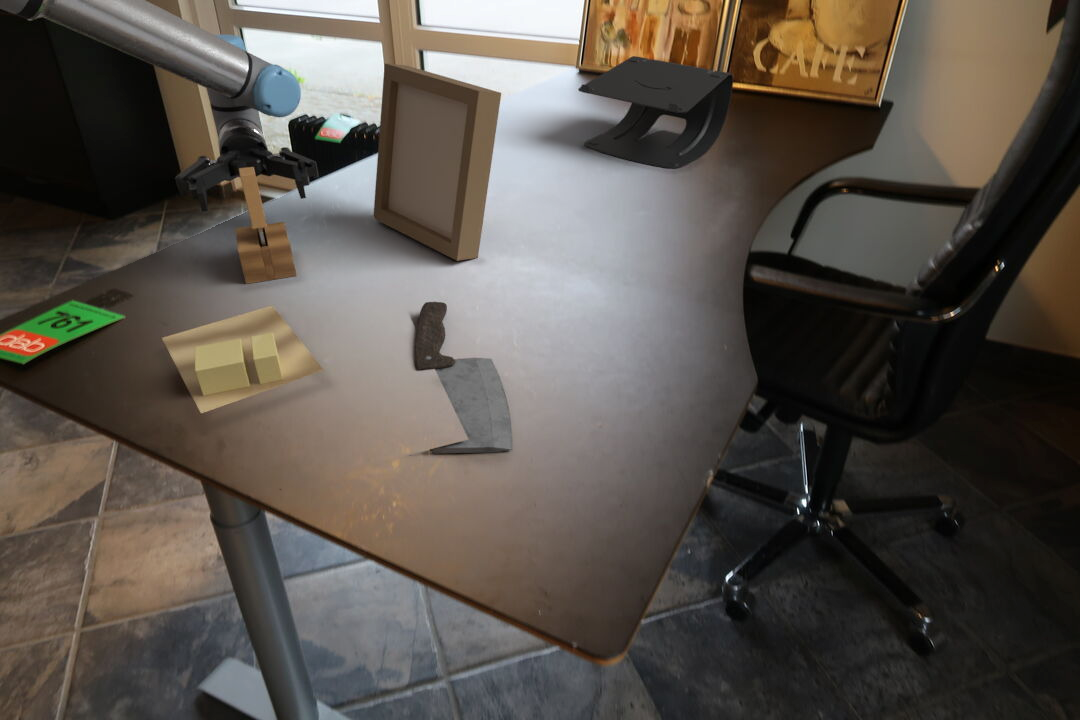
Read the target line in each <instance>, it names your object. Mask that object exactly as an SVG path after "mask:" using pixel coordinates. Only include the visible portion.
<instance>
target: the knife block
mask: <svg viewBox="0 0 1080 720" xmlns="http://www.w3.org/2000/svg"><path fill="white" fill-rule="evenodd" d="M266 224H267V227H264V228H262V229H263V233H264V238H265V242H266V246H264V247H262V243H261V239H260V235H259V230H258V228H257V229H253V228H252V225H250V226H244V227H237V228H236V227H235V228H234V230H235V238H236V247H237V253H238V258H239V262H240V266H241V269H242V274H243V277H244V280H245V284H246V285H248V284H249V285H250V284H254V283H261V282H267V281H274V280H279V279H285V278H291V277H297V271H296V267H295V261H294V257H293V252H292V247H291V243H290V239H289V235H288V231H287V227H286V224H285V221H279V222H273V223H272V222H271V223H266Z"/></svg>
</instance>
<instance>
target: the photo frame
mask: <svg viewBox="0 0 1080 720" xmlns="http://www.w3.org/2000/svg"><path fill="white" fill-rule="evenodd" d="M381 94H382V96H381V109H380V121H379V135H378V137H379V138H378V147H377V160H376V162H377V164H376V175H375V191H374V203H373V215H372V216H373V217H372V219H374V220H376V221H377V222H380V223H382V224H384V225H386V226H387V227H390V228H392V229H394V230H396V231H398V232H399V233H402V234H403V235H406V236H408V237H409V238H411V239H413V240H415V241H417V242H419V243H421V244H423V245H425V246H427V247H429V248H430V249H432V250H434V251H437V252H438V253H441V254H443V255H445V256H447V257H449V258H451V259H453V260H455V261H456V262H457V261H465V260H472V259H478V258H479V254H480V253H479V252H480V247H481V246H480V245H481V239H482V233H483V232H482V231H483V226H484V225H483V224H484V217H485V211H486V203H487V196H488V189H489V181H490V175H491V169H492V162H493V155H494V147H495V141H496V135H497V134H496V133H497V126H498V120H499V114H500V113H499V112H500V105H501V98H502V92H501V91H496V90H493V89H490V88H486V87H483V86H479V85H475V84H472V83H468V82H465V81H461V80H458V79H455V78H451V77H448V76H444V75H440V74H437V73H435V72H430V71H427V70H424V69H420V68H416V67H413V66H410V65H403V64H397V63H396V64H393V63H386V62H385V63H384V68H383V80H382V93H381Z"/></svg>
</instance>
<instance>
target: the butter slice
mask: <svg viewBox="0 0 1080 720" xmlns="http://www.w3.org/2000/svg"><path fill="white" fill-rule="evenodd" d="M251 344H252V352H253V359H254V363H255V367H256V371H257V374H258V378H259V382H260V384H264V383H269V382H274V381H278V380H283V378H282V372H281V367H280V361H279V356H278V352H277V347H276V343H275V339H274V335H273V333H268V334H263V335H257V336H252V337H251Z"/></svg>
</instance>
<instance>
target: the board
mask: <svg viewBox="0 0 1080 720" xmlns="http://www.w3.org/2000/svg"><path fill="white" fill-rule="evenodd" d="M268 333H273V335H274V339H275V343H276V347H277V352H278V356H279V361H280V367H281V372H282V378H283V380H278V381H274V382H269V383H264V384H260V382H259V378H258V374H257V371H256V367H255V363H254V359H253V352H252V344H251V337H252V336H257V335H263V334H268ZM236 339H241V342H242V346H243V349H244V353H245V356H246V360H247V365H248V374H249V383H250V386H249V387H244V388H240V389H235V390H230V391H225V392H220V393H215V394H210V395H206V396H203V393H202V390H201V387H200V384H199V381H198V378H197V375H196V372H195V347H198V346H203V345H209V344H214V343H220V342H225V341H230V340H236ZM161 340H162V342H163V344H164V346H165V348H166V350H167V351H168V354H169V355H170V358H171V360H172V361H173V363H174V365H175V367H176V369H177V371H178V373H179V374H180V376H181V379H182V380H183V381H182V382H184V384H185V387H186V388H187V391H188V392H189V394H190V396H191V398H192V400H193V402H194V404H195V405H196V407H197V409H198V411H199V413H200V414H203V413H206V412H209V411H212V410H215V409H218V408H221V407H223V406H226V405H229V404H232V403H235V402H238V401H240V400H243V399H246V398H250V397H252V396H255V395H257V394H261V393H263V392H266V391H269V390H272V389H275V388H278V387H280V386H283V385H286V384H288V383H292V382H294V381H297V380H301V379H303V378H305V377H309V376H311V375H314V374H317V373H319V372H323V371H324V368H323V367H322V366H321V364H320V363H319V362H318V360H317V359H316V358H315V357H314V356H313V354H312V353H311V352H310V351H309V349H308V348H307V346H306V345H305V344H304V343H303V342H302V341H301V339H300V338H299V337H298V335H297V334H296V333H295V332H294V330H292V328H291V327H290V325H289V324H288V323H287V322H286V320H285V319H284V318H283V317H282V315H281V314H280V313H279V312H278V311H277V309H276V308H275V307H274V305H269V306H266V307H262V308H259V309H256V310H252V311H248V312H245V313H241V314H238V315H234V316H231V317H228V318H224V319H222V320H218V321H214V322H211V323H208V324H205V325H201V326H197V327H194V328H190V329H187V330H184V331H180V332H177V333H173V334H171V335H167V336H164V337H161Z"/></svg>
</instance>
